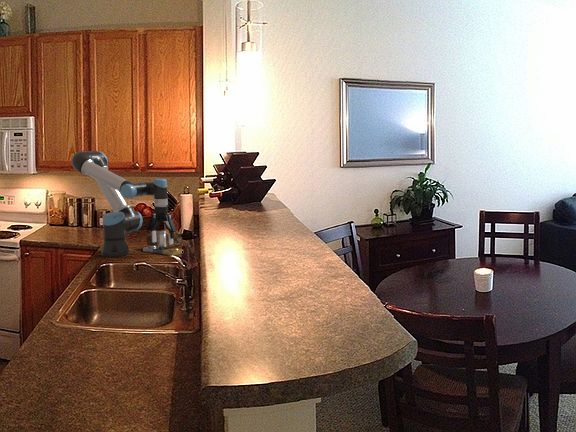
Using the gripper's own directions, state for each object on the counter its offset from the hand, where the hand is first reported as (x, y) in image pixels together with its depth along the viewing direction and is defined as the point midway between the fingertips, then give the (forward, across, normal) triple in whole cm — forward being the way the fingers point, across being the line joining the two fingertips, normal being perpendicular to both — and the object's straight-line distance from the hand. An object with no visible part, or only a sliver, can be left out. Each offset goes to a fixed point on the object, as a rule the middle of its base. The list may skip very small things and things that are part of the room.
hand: (162, 243), depth 311 cm
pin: (+5, 0, 0) cm, 5 cm away
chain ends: (+5, 0, 0) cm, 5 cm away
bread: (+6, -12, +13) cm, 19 cm away
